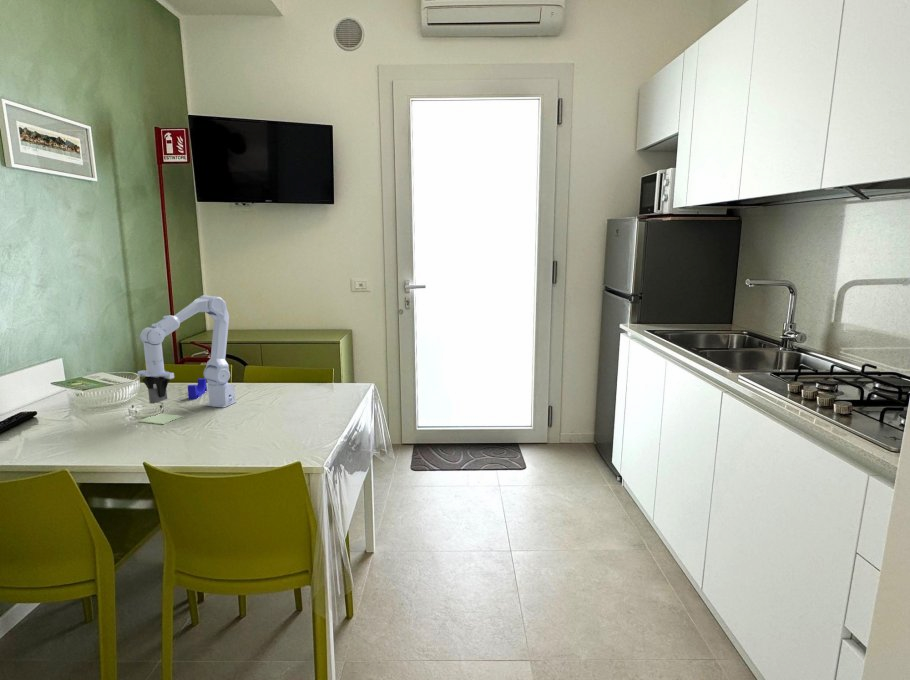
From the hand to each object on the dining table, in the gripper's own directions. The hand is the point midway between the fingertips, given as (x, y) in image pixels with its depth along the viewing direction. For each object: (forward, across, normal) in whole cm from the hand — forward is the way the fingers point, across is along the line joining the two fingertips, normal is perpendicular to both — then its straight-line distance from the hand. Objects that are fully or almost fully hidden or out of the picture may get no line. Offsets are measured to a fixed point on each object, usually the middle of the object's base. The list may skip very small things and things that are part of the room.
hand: (158, 396), depth 197 cm
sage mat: (+9, 0, 0) cm, 9 cm away
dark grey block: (+2, 0, 0) cm, 2 cm away
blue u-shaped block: (+9, -10, +30) cm, 33 cm away
